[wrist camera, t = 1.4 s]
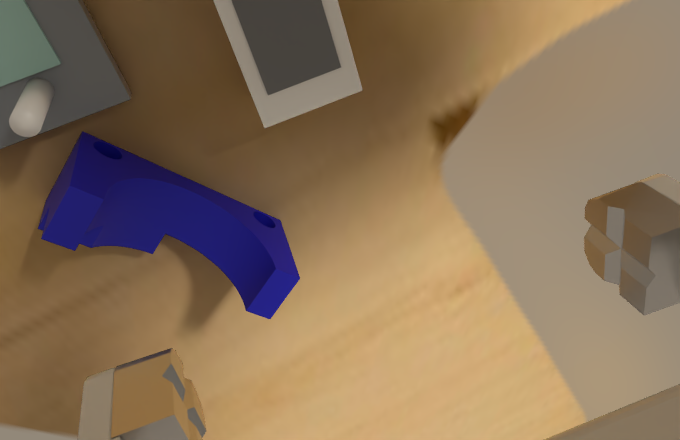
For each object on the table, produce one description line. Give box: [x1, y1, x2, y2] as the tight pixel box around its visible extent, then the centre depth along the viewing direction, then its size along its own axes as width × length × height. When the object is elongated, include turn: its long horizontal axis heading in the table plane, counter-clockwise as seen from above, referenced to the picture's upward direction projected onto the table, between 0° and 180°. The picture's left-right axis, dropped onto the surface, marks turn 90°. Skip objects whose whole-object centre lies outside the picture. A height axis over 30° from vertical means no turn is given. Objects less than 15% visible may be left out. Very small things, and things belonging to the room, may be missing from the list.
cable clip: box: [38, 131, 300, 319], centre depth 32 cm, size 12×4×6 cm, turn 56°
